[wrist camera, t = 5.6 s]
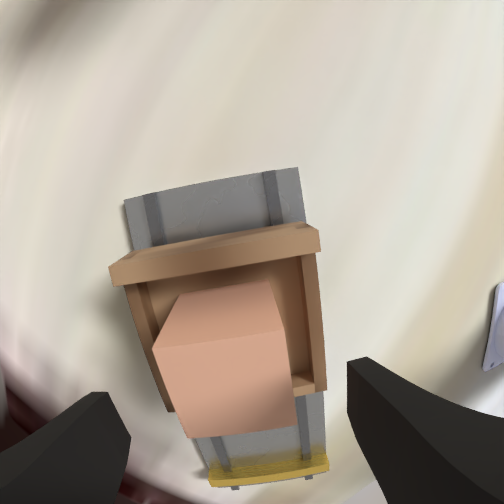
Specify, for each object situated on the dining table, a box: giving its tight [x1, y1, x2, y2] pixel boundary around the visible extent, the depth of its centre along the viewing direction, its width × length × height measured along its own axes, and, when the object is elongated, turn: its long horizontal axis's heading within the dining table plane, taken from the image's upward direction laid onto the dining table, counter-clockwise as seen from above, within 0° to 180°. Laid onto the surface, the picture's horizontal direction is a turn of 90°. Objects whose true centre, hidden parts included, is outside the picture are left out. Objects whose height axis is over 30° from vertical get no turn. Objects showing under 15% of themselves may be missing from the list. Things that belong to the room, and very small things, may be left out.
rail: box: [124, 167, 329, 490], centre depth 17 cm, size 9×23×2 cm, turn 10°
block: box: [152, 279, 298, 438], centre depth 11 cm, size 4×4×5 cm
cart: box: [108, 221, 327, 412], centre depth 14 cm, size 8×8×4 cm
